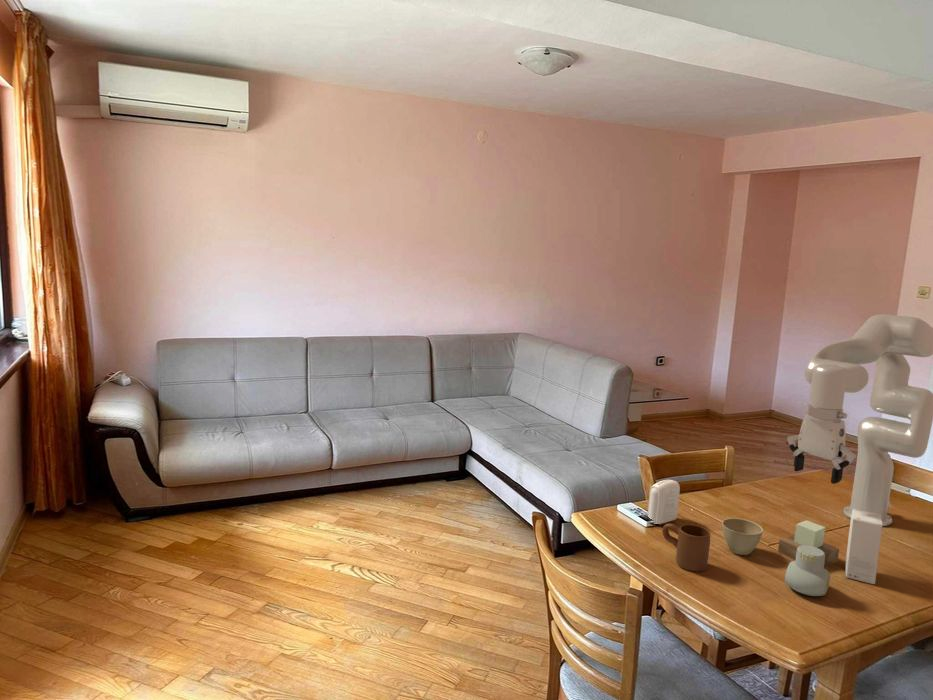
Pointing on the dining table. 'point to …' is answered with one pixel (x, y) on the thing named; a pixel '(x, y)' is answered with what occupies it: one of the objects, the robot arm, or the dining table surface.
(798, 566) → the air freshener
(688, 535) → the mug
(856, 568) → the skincare box
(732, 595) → the dining table surface
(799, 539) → the sage cube
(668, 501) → the photo printer
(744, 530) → the flower pot
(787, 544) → the brown flat block
